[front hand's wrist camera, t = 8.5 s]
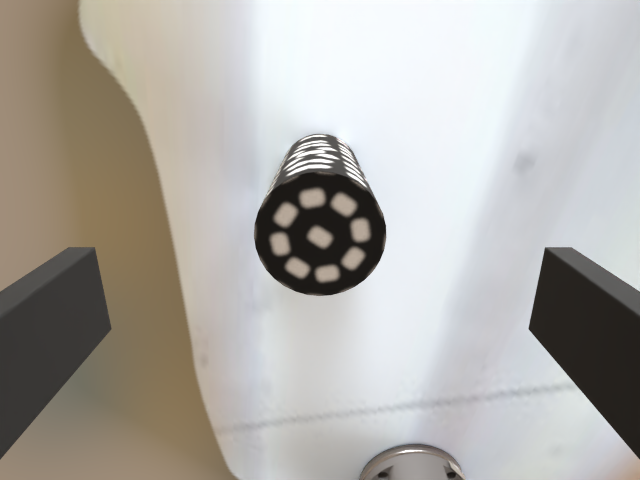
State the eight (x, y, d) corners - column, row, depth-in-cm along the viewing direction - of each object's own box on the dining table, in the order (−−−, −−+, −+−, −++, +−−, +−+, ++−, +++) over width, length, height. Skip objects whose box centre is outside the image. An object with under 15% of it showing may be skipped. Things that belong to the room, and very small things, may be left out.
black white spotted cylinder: (374, 163, 45) (413, 220, 26) (329, 224, 47) (335, 317, 28) (309, 117, 43) (301, 143, 24) (267, 183, 45) (229, 252, 27)
